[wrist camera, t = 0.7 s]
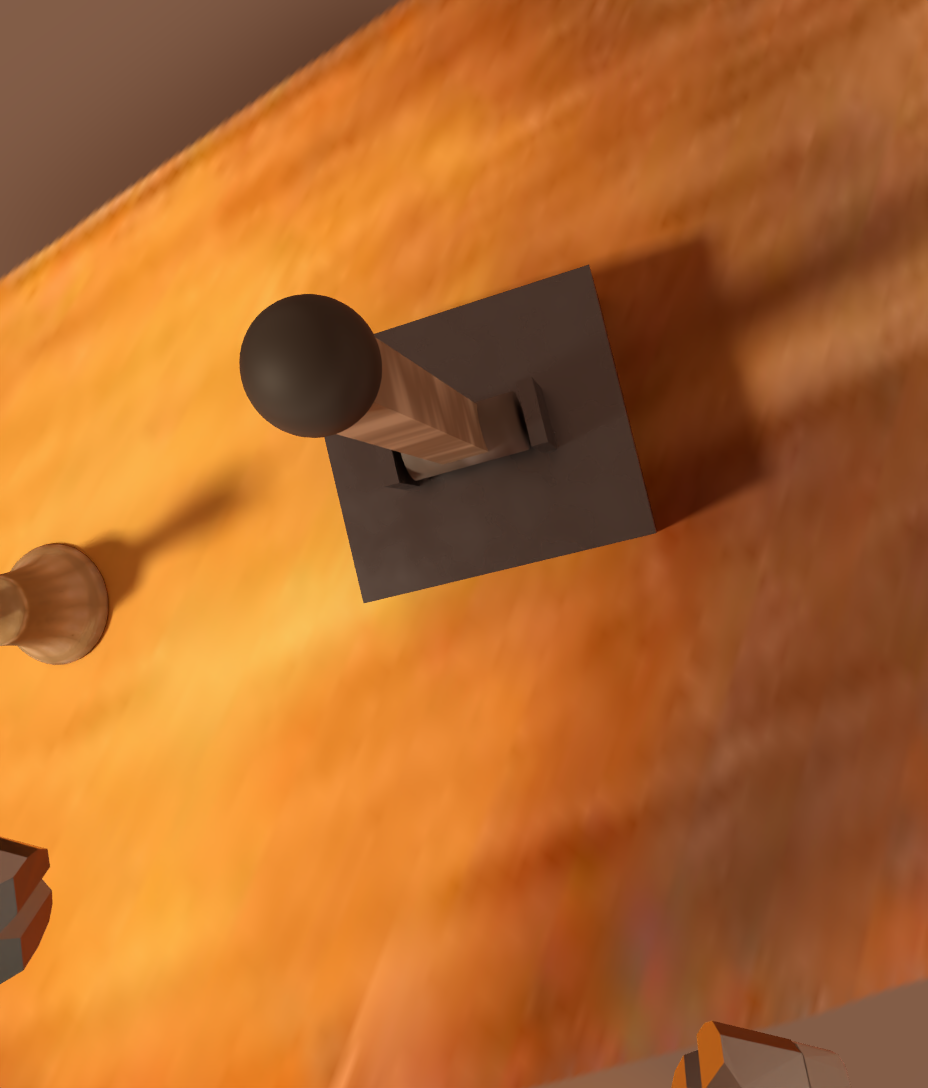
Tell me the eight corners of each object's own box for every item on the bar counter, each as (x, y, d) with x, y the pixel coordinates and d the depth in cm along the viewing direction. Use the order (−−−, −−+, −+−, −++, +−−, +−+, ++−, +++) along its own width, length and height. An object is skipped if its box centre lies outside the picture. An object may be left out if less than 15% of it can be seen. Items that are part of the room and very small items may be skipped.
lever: (535, 461, 42) (404, 394, 21) (426, 491, 44) (197, 456, 22) (516, 386, 42) (367, 242, 21) (408, 418, 44) (164, 314, 22)
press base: (657, 532, 47) (655, 533, 38) (398, 594, 51) (339, 609, 41) (597, 296, 47) (582, 242, 38) (346, 375, 51) (277, 342, 42)
